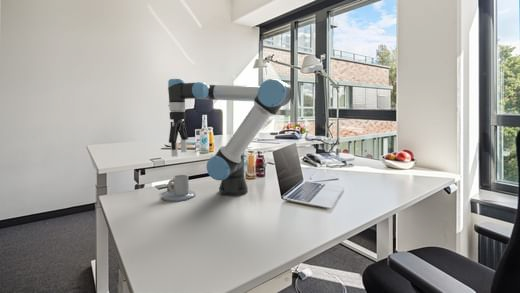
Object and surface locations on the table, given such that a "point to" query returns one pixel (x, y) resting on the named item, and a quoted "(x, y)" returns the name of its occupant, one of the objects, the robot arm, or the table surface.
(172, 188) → the walnut block
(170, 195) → the dish
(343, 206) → the table surface
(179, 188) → the cup
